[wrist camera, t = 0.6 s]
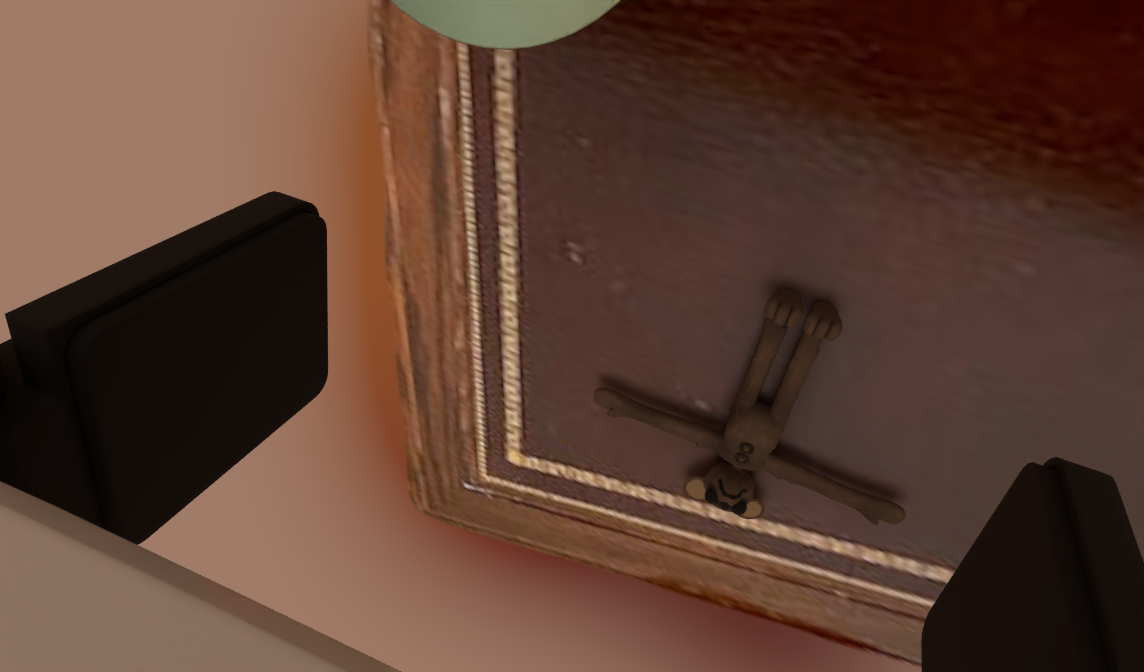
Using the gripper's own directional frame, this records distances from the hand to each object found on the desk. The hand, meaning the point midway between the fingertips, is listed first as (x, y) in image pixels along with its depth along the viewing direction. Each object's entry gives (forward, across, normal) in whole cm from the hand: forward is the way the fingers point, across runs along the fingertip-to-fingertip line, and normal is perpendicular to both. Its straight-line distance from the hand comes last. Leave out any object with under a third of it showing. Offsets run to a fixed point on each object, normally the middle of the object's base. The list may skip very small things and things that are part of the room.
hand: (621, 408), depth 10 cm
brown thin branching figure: (+29, -3, +18) cm, 34 cm away
